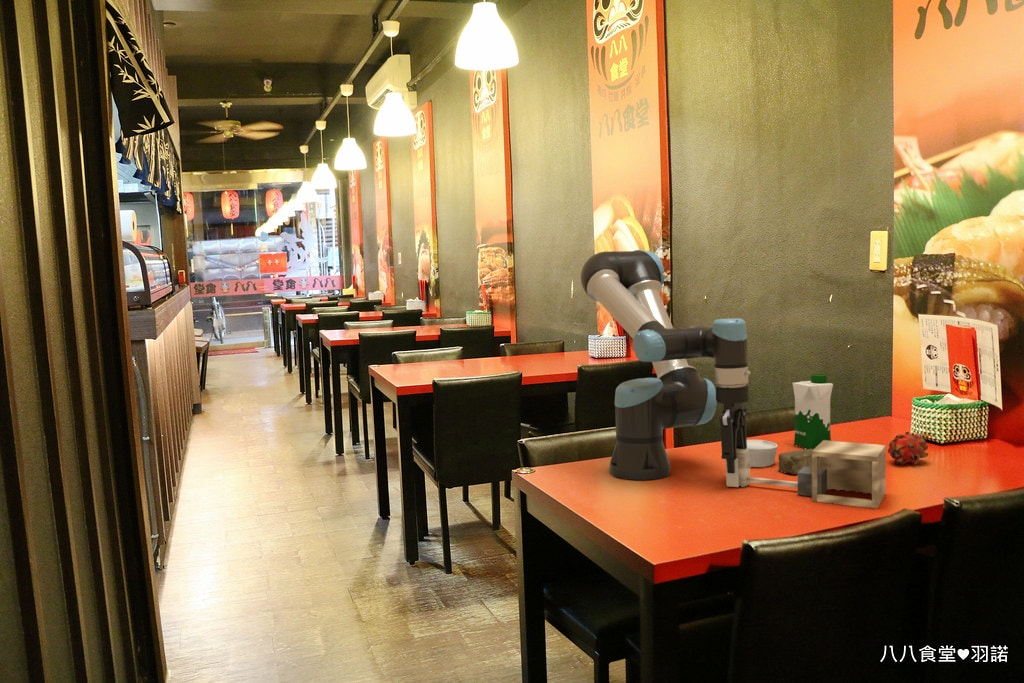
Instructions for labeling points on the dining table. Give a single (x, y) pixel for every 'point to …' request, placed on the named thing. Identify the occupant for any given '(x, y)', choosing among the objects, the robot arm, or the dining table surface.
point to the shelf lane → (850, 472)
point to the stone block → (797, 461)
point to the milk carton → (812, 411)
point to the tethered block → (802, 484)
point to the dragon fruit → (907, 448)
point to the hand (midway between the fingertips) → (736, 483)
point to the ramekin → (761, 452)
